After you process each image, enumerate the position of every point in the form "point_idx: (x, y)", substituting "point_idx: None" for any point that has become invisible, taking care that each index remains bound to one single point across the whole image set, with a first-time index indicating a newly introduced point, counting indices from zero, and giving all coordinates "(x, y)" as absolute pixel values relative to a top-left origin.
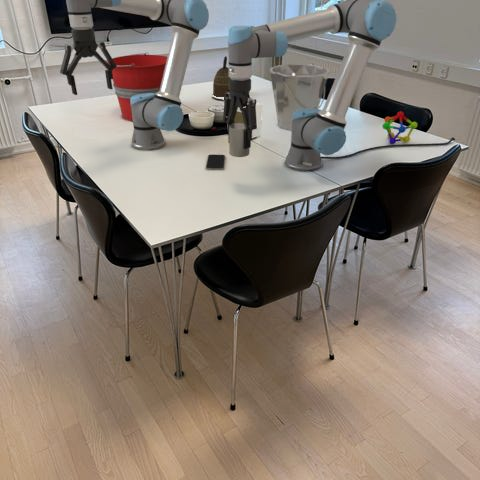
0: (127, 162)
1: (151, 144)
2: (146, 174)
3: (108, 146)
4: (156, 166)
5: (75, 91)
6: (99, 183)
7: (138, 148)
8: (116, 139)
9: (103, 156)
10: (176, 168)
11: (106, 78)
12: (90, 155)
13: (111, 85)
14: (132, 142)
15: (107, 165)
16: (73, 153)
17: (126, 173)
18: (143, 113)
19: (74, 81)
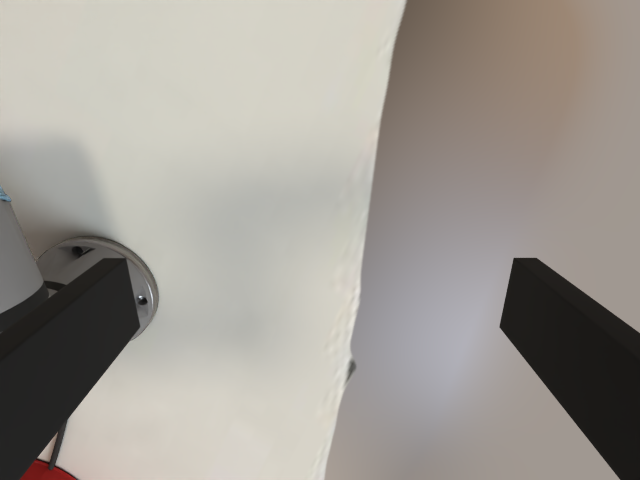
0: (225, 187)
1: (94, 247)
2: (210, 32)
3: (225, 348)
4: (147, 82)
5: (549, 274)
6: (385, 70)
7: (146, 269)
8: (181, 385)
9: (272, 283)
10: (82, 7)
11: (76, 396)
12: (303, 313)
13: (85, 278)
14: (150, 305)
15: (294, 205)
16: (338, 355)
17: (269, 93)
18: (20, 307)
19: (631, 344)
